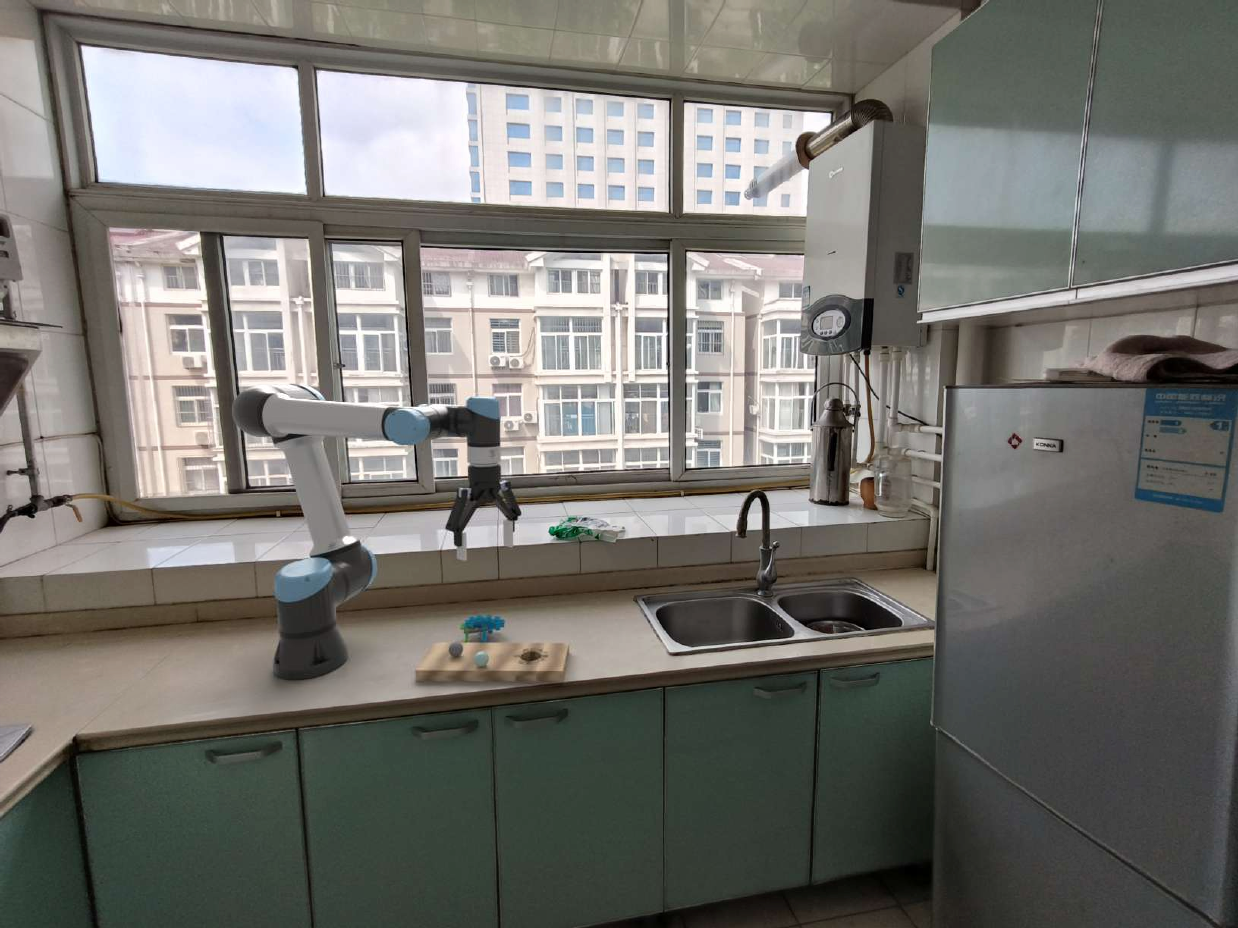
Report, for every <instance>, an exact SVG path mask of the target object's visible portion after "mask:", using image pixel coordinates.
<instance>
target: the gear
mask: <svg viewBox="0 0 1238 928" xmlns="http://www.w3.org/2000/svg"><path fill="white" fill-rule="evenodd" d="M505 621H506V620H505V619H504V618H501V616H499V615H498V616H497V615H495V616H494V618H492V614H486V616H483V615H482V614H478V615H476V617H475V616H469V617H468V619H465V620H464V622H461V623H460V630H461V631H463V634H465V635H464V643H469V641H468V640H469V634H470V635H471V634H479V633H481V643H487V633H492V632H494V630H495V631H500V630H501V628H505V623H506V622H505Z"/></svg>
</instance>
